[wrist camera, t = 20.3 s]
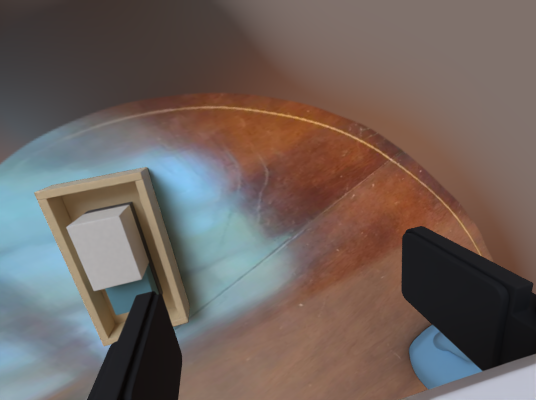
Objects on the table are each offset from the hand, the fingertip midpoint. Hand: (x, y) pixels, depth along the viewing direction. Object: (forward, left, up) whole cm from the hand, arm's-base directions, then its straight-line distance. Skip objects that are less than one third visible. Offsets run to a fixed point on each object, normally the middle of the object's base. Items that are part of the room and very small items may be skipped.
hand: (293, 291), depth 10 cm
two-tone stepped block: (+6, -14, -23) cm, 27 cm away
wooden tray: (+6, -14, -23) cm, 28 cm away
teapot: (+35, +28, -23) cm, 51 cm away
